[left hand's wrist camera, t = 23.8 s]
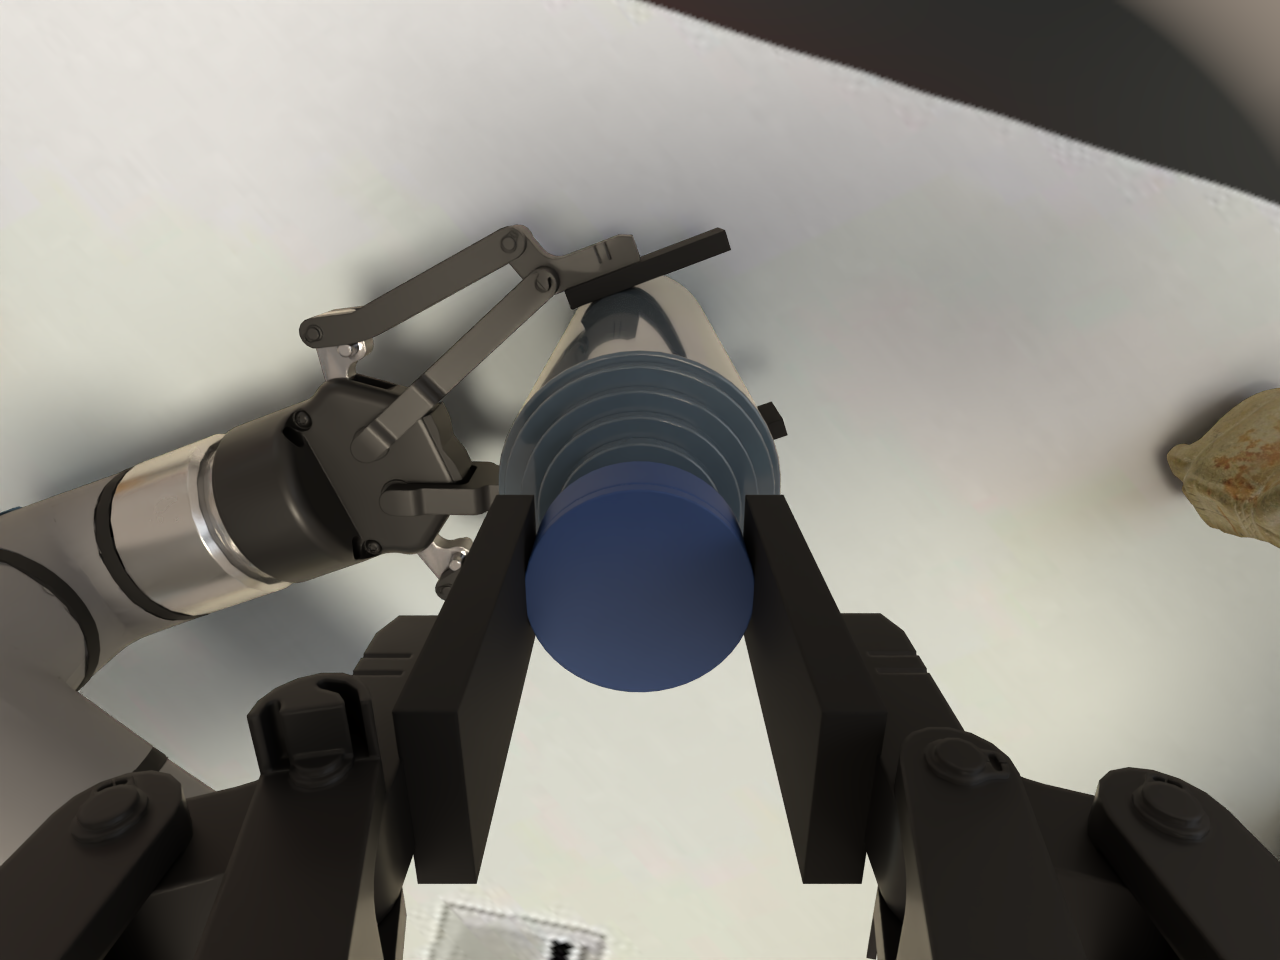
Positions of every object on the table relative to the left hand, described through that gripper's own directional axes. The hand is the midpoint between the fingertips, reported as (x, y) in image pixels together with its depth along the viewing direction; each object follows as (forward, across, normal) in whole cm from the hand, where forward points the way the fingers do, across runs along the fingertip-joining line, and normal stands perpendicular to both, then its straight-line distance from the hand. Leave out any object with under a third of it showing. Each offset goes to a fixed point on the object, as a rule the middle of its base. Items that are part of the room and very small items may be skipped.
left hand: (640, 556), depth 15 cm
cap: (-1, 0, 0) cm, 1 cm away
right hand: (+17, -5, -2) cm, 18 cm away
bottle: (+23, 0, 0) cm, 23 cm away
